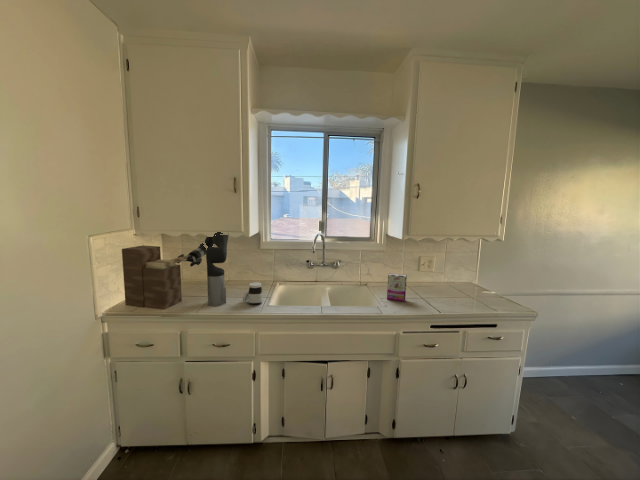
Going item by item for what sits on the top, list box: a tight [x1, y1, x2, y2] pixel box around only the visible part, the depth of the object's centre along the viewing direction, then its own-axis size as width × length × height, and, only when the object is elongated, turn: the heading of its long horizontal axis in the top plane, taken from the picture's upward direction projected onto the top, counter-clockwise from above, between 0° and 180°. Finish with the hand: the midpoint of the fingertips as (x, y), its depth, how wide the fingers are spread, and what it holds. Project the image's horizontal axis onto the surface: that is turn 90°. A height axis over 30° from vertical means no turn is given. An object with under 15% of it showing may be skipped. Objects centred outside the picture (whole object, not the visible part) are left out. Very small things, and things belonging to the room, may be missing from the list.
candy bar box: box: [386, 273, 408, 303], centre depth 169 cm, size 11×5×16 cm, turn 68°
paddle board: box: [146, 257, 187, 269], centre depth 155 cm, size 24×10×2 cm, turn 168°
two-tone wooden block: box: [121, 244, 183, 310], centre depth 150 cm, size 14×25×32 cm, turn 78°
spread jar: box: [242, 281, 263, 306], centre depth 157 cm, size 12×11×12 cm
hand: (184, 263), depth 172 cm, fingers open, 8 cm apart
